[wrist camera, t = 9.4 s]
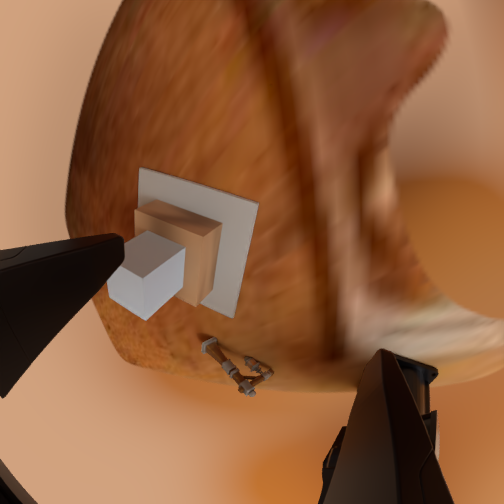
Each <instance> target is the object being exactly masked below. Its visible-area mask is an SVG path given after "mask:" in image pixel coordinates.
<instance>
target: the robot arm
mask: <svg viewBox="0 0 504 504" xmlns="http://www.w3.org/2000/svg"><path fill="white" fill-rule="evenodd" d="M124 259H125V247H124V239H123V237H122V236H120V235H118V234H116V233H110V234H102V235H95V236H88V237H81V238H74V239H67V240H61V241H55V242H49V243H43V244H36V245H30V246H24V247H18V248H12V249H6V250H0V396H1V398H4V397H6V395H7V394H8V393H9V391H10V390H11V389H12V388H13V386H14V385H15V384H16V382H17V381H18V380H19V378H20V377H21V376H22V375H23V374H24V372H25V371H26V370H27V369H28V368H29V366H30V365H31V363H32V362H33V361H34V360H35V359H36V358H37V357H38V355H39V354H40V353H41V352H42V351H43V349H44V348H45V347H46V346H47V345H48V344H49V343H50V342H51V341H52V339H53V338H54V337H55V336H56V335H57V334H58V333H59V332H60V331H61V329H62V328H63V327H64V326H65V325H66V324H67V323H68V322H69V321H70V320H71V319H72V318H73V317H74V316H75V314H77V313H78V311H79V310H80V309H81V308H82V307H83V306H84V305H85V304H86V303H87V302H88V301H89V300H90V299H91V298H92V297H93V296H94V295H95V294H96V293H97V292H98V291H99V290H100V289H101V288H102V286H103V285H104V284H105V283H106V282H107V280H108V279H109V278H110V277H111V276H112V275H113V273H114V272H115V271H116V270H117V269H118V268H119V267H120V265H121V264H122V263H123V261H124ZM437 376H438V369H436V368H433V367H429V366H426V365H423V364H420V363H417V362H414V361H412V360H409V359H406V358H403V357H400V356H397V355H394V354H393V353H392V352H391V351H388V350H385V349H379V350H378V351H377V352H376V354H375V355H374V356H373V358H372V359H371V360H370V361H369V363H368V364H367V366H366V367H365V369H364V372H363V375H362V379H361V382H360V385H359V387H358V389H357V395H356V398H355V401H354V404H353V406H352V409H351V413H350V416H349V420H348V424H347V426H343V427H342V428H341V430H340V432H339V434H338V436H337V438H336V440H335V442H334V444H333V445H332V448H331V449H330V451H329V453H328V454H327V456H326V458H325V460H324V462H323V468H322V478H323V488H322V492H321V496H320V499H319V502H318V504H454V501H453V499H452V496H451V494H450V491H449V489H448V486H447V484H446V481H445V479H444V476H443V474H442V471H441V468H440V465H439V463H438V458H439V425H438V424H439V423H438V415H437V410H435V411H431V413H430V389H429V384H430V383H431V382H432V381H433V380H434V379H435V378H436V377H437ZM0 504H38V503H37V502H36V501H35V500H34V499H33V498H32V497H31V496H30V495H29V494H28V493H27V491H26V490H25V489H24V488H23V487H22V486H21V484H20V483H19V482H18V481H17V480H16V479H15V477H14V476H13V475H12V474H11V472H10V471H9V470H8V468H7V467H6V466H5V465H4V463H3V462H2V460H1V459H0Z"/></svg>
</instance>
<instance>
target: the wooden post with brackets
mask: <svg viewBox="0 0 504 504" xmlns="http://www.w3.org/2000/svg"><path fill="white" fill-rule="evenodd" d="M216 342H217V339H216V338H215V337H213V338H211V339H209V340H207V341H205V342H203V343H202V351H201V352H202V353H203V354H205V353H208V354H209V355H211V356H212V357H213V358H214V359H215V360H217V361H218V362H219V363H220V364H221V365H222V368H223V369H224V370H225V371H226V373H227V374H228V375H230V378H233V379H234V380H235V381H236V383H237V384H238V385H239V389H238V391H239V392H240V393H244V394H245V395H246V396H247V395H249V396H250V397H254V396H255V395H256V392H255V391H254V389H255V388H254V386H255V385H257V384H259V383H260V382H262V381H265V380H267V379H268V378H269V377H270V376H272V375H273V373H274V371H273V370H272V369H270V370H268V371H267V372H266V371H265V372H264V373H263V372H262V371H261V368H259V367H258V366H259V363H260V362H259V363H257V362H256V361H255V360H254V359H253V358H252V357H251V358H249V357H245V358H244V360H245V362H246V363H245V365H246V366H248V367H249V368H250V369H251V372H252V371H257V372H256V373H260V374H261V373H262V374H261V375H260V376H257V377H254V376H242V375H241V374H240V373H239V369H238V368H237V369H236V366H235V365H234V364H233V363H232V362H231V360H230V359H227V358H226V357H225V356H224V354H223V353H222V351H221V350H220V349H219V347H218V346H217V344H216ZM260 371H261V372H260ZM245 379H251V380H252V381H250V382H249V381H248V380H245Z"/></svg>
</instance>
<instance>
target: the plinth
mask: <svg viewBox="0 0 504 504" xmlns="http://www.w3.org/2000/svg"><path fill="white" fill-rule="evenodd" d="M134 218H135V237H136V236H138V235H140V234H142V233H144V232H145V231H147V230H148V231H150V232H152V233H155V234H157V235H159V236H161V237H164V238H166V239H168V240H170V241H173V242H175V243H177V244H180V245H182V246H184V247H186V249H185V262H184V277H183V287H182V288H181V289H180V290H179V291H178V292H177V293H176V294H175V295H174V296H175V297H177V298H179V299H181V300H183V301H185V302H187V303H188V304H190V305H192V306H194V307H197V306H198V305H199V304H200V302H201V301H202V300H203V299H204V298H205V297H206V296H207V295H208V294H209V293H210V292H211V291H212V290H213V285H214V278H215V271H216V264H217V257H218V250H219V244H220V238H221V231H222V225H223V223H221V222H218V221H216V220H213V219H210V218H207V217H205V216H202V215H199V214H196V213H194V212H191V211H188V210H185V209H183V208H180V207H177V206H174V205H172V204H169V203H166V202H163V201H160V200H158V199H157V200H154V201H152V202H150V203H148V204H145V205H143V206H141V207H139V208H136V209H135V212H134Z"/></svg>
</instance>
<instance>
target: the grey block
mask: <svg viewBox="0 0 504 504" xmlns="http://www.w3.org/2000/svg"><path fill="white" fill-rule="evenodd" d="M124 247H125V259H124V261H123V263H122V264H121V265H120V267H119V268H118V269H117V270H116V271H115V272H114V273H113V275H112V276H111V277H110V278H109V279H108V280H107V285H108V291H109V297H110V298H111V299H113V300H114V301H116V302H117V303H119V304H120V305H122V306H123V307H125V308H126V309H128V310H129V311H131V312H133V313H134V314H136V315H137V316H139V317H141V318H142V319H144V320H145V321H146V320H147V319H148V318H149V317H150V316H152V315H153V314H154V313H155V312H156V311H157V310H158V309H159V308H160V307H161V306H163V305H164V304H165V303H166V302H167V301H168V300H169V299H170V298H171V297H172V296H174V295H175V294H176V293H177V292H178V291H179V290H180V289H181V288H182V287H183V277H184V262H185V249H186V247H184V246H182V245H180V244H177V243H175V242H173V241H170V240H168V239H166V238H164V237H161V236H159V235H157V234H155V233H152V232H150V231H148V230H147V231H145V232H144V233H142V234H140V235H138V236H136V237H135V238H133V239H131V240H129V241H128V242H126V243H124Z"/></svg>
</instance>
